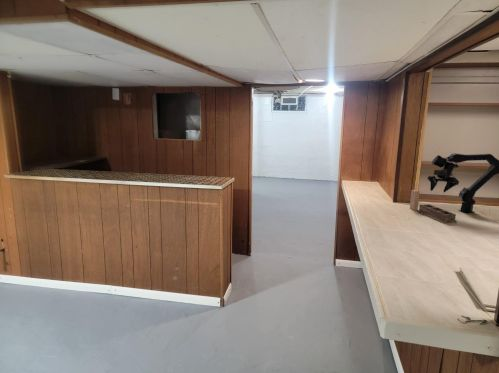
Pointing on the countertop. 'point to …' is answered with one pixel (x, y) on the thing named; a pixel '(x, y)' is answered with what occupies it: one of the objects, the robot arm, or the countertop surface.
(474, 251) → the countertop surface
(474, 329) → the countertop surface
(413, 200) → the clay block
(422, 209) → the compartment tray
